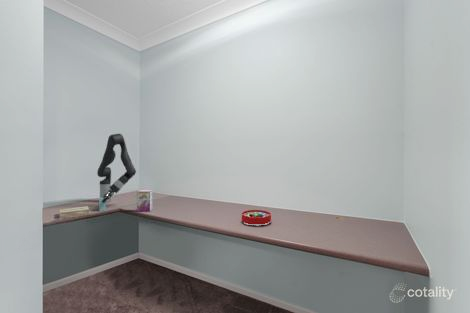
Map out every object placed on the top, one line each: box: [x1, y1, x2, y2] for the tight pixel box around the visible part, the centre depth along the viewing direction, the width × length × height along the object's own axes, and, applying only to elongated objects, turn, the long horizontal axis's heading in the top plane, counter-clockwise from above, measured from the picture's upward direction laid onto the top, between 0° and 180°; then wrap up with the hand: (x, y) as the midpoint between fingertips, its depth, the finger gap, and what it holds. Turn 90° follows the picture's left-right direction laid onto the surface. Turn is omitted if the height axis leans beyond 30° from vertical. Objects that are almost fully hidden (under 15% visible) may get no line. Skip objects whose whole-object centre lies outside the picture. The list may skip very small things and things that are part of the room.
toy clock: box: [241, 209, 272, 224], centre depth 158 cm, size 20×6×20 cm
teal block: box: [98, 197, 107, 212], centre depth 191 cm, size 4×4×10 cm
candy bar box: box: [136, 189, 153, 212], centre depth 188 cm, size 11×5×16 cm, turn 84°
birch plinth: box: [59, 205, 90, 219], centre depth 177 cm, size 14×18×4 cm
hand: (101, 201), depth 191 cm, fingers open, 8 cm apart
